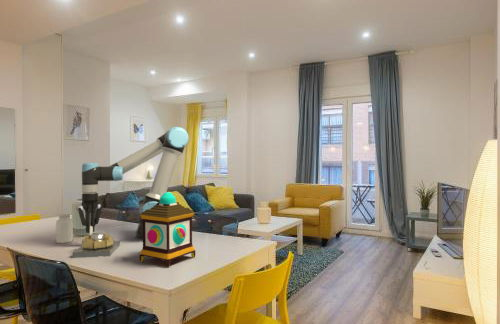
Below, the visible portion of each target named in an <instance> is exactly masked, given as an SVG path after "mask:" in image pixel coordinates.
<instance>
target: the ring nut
mask: <svg viewBox="0 0 500 324" xmlns="http://www.w3.org/2000/svg"><path fill="white" fill-rule="evenodd" d="M104 233H105V237H104V240H99V241H93V238H91V235H88V234H85V235H84V238H82V239H81V246H82V247H83V248H90V249H93V248H94V249H95V248H103V247H108V246H110V245H113V241H114V237H113V236H112V235H109V232H104Z"/></svg>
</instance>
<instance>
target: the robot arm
mask: <svg viewBox="0 0 500 324" xmlns="http://www.w3.org/2000/svg"><path fill="white" fill-rule="evenodd" d="M189 137H190V136H189V134H188V132H187V131H186V129H185V128H183V127H180V126H174V127H171V128H169V130H166V132H164V134H162V135H160V136H159V137H157V138H156V140H155V141H153V142H152V143H149V144H148V145H145V146H144V147H143V148H141V149H139V150H136V151H135V152H134V153H131V154H129V155H128V156H126V157H123V158H122V159H121V160H118V161H117V162H114V163H113V164H111V165H109V166H99V163H98V162H83V164H82V165H81V166H82V167H81V192H82V194H81V204H80V206H77V207H76V210H77V212H78V215H79V219H80V222H81V223H80V224H81V226H82V227H85V233H86V234H87V235H91V234H92V233H95V227H96V225H98V224H99V221H100V217H101V213H102V210H103V208H104V205H102V204H100V202H99V193H98V192H99V182H113V181H114V182H119V181H123V178H124V174H127V173H128V172H130V171H131V170H133V169H135V168H136V167H138V166H140V165H143V164H144V163H146V162H148V161H150V160H151V159H153V158H155V157H157V156H158V155H161V154H162V155H161V158H160V161H159V163H158V167H157V170H156V172H155V176H154V179H153V181H152V185H151V187H150V189H149V190H150V191H149V192H148V193H146V194H145V195H144V196H140V197H138V203H137V204H138V225H137V229H136V231H135V238H137V239H142V240H143V220H142V218H141V216H140V214H142V212H144V211H145V210H147V209H151V208H152V207H154V205H156V203H160V197H161V196H162V195H163V194H164V193H166V192H168V189H169V186H170V183H171V180H172V176H173V174H174V170H175V168H176V165H177V162H178V159H179V156H182V155H183V153H184V151H185V147H187V146H186V145H187V144H188V143H189V139H190V138H189Z"/></svg>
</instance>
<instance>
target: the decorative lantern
mask: <svg viewBox="0 0 500 324" xmlns="http://www.w3.org/2000/svg"><path fill="white" fill-rule="evenodd" d="M173 194H174V193H172V192H170V191H167V192H166V193H164V194H163V195H162V196H161V197H160V203H156V205H154V207H152V208H151V209H147V210H145V211H144V212H142V214H140V216H141V218H142V220H143V239H142V248H141V250H140V253H139V255H138V256H139V261H140V262H141V263H142V261H143V262H144V260H145V257H146V258H150V259H154V260H155V259H156V260H160V261H165V264H166V267H167V268H170V266H171V262H172V261H173V260H177V259H178V258H180V257H183V256H187V255H189V254H190V255H191V258H192V259H193V258H196V249H195V247H194V245H193V217H194V215H195V211H193V210H192V209H190V207H185V206H183V205H182V204H181V203H179V202H177V200H176V196H175V195H173Z"/></svg>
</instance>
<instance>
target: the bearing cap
mask: <svg viewBox="0 0 500 324" xmlns="http://www.w3.org/2000/svg"><path fill="white" fill-rule="evenodd" d="M105 233H106V232H93V233H92V234H91V238H93V241H99V240H104V237H105ZM120 246H121V240H113V245H110V246H108V247H103V248H95V249H94V248H93V249H90V248H83V247H82V245H81V246H79V247H77V249H75V250H74V251H73V252H72V259H77V258H78V259H79V258H96V257H97V258H100V257H99V256H104V257H111V256H112V255H113V253H115V252H116V250H118V248H119V247H120Z"/></svg>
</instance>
